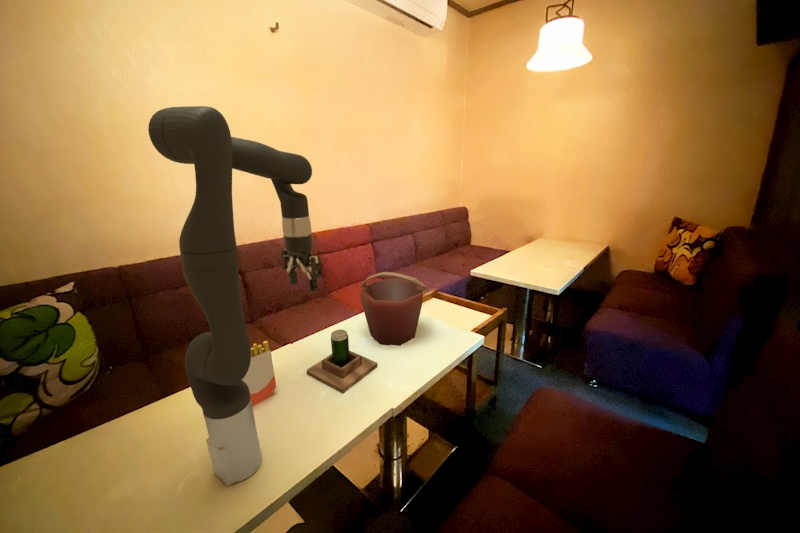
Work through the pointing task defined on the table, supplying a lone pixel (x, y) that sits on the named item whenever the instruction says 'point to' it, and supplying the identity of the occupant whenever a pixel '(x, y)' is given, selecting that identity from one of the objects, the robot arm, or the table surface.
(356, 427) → the table surface
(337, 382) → the can holder
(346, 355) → the beer can
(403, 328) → the bucket
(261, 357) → the french fries container
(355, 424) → the table surface
